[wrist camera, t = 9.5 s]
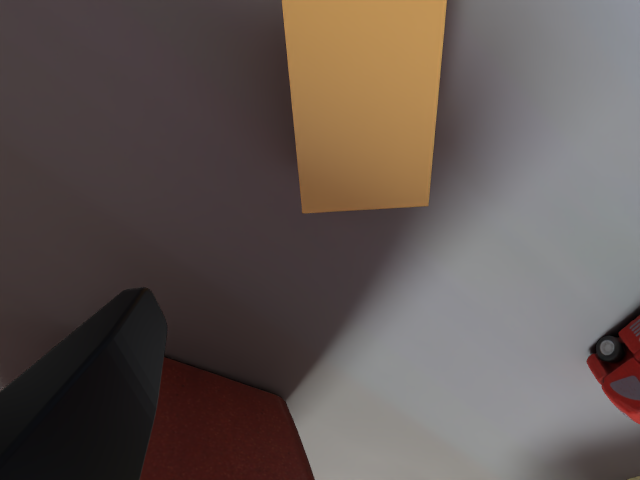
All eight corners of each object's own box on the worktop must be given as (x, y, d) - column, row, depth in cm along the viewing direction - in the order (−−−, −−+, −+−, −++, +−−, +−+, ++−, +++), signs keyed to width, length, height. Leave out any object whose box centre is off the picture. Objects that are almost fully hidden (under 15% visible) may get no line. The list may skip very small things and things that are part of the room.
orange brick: (303, 168, 19) (302, 213, 16) (287, -22, 15) (281, -7, 12) (410, 161, 19) (428, 206, 16) (422, -31, 15) (448, -18, 12)
